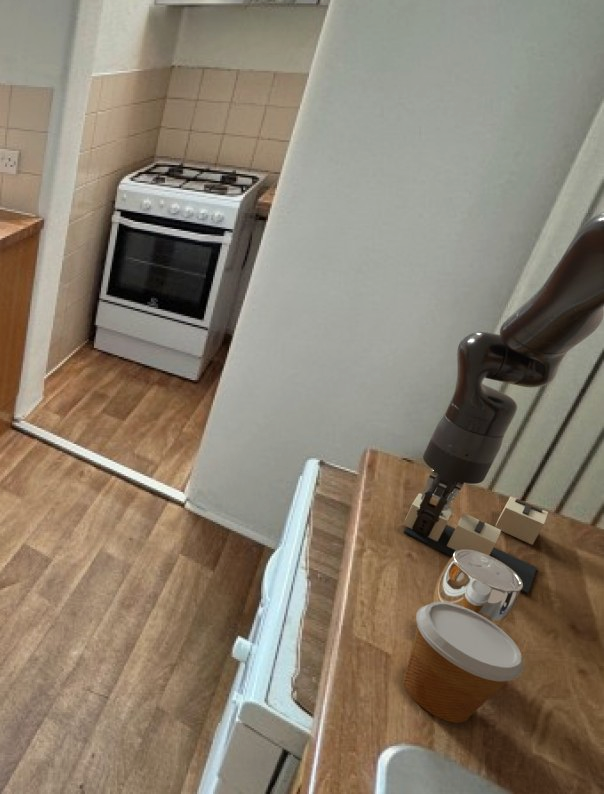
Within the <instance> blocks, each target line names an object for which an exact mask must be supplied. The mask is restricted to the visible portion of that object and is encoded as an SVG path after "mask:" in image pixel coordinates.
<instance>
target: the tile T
mask: <svg viewBox="0 0 604 794" xmlns="http://www.w3.org/2000/svg"><path fill="white" fill-rule="evenodd" d="M548 514H549V512H548V511H546V510H544V509H542V508H540V507H537V506H535V505H532V504H530V503H528V502H525V501H523V500H521V499H519V498H516V497H513V496H510V497H509V498H508V500H507V501H506V504H505V506H504V508H503V510H502V511H501V513H500V515H499V517H498V519H497V521H496V524H495V526H494V527H496V528H498V529H500V530H501V532H503V533H505V534H507V535H510V536H511V537H514V538H515V539H516V538H517V539H518V540H520V541H523V542H525V543H527V544H529V545H532V546H533V545H534V544H535V541H536V540H537V538H538V536H539V535H540V533H541V531H542V529H543V527H544V526H545V523H546V521H547V518H548Z"/></svg>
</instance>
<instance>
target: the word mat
mask: <svg viewBox="0 0 604 794" xmlns="http://www.w3.org/2000/svg"><path fill="white" fill-rule="evenodd" d="M454 530H455V527H452V526H451V525H448V524H447V525H446V527H445V529H444V530H443V532H442V534H441V536H440V538H439V540H438V541H435V540H433V539H431V538H429V537H426V536H423V535H421V534H419V533H417V532H415V531H414V530H413V529H411V528H409V527H407V526H405V528H404V530H403V534H406V535H408V536H409V537H411V538H414V539H415V540H417V541H419V542H421V543H423V544H425V545H426V546H429V547H431V548H433V549H435V550H437V551H439V552H441V553H443V554H445V555H447V556H448V557H450V558H451V557H452V556H453V554H454V552H455V551H456V550H454V549H452V548H450V547H448V546H447V544H448V542H449V540H450V538H451V536H452V534H453V532H454ZM489 556H491V557H493V558H495V559H497V560H498V561H500V562H502V563H503V564H505V565H506V566H508V567H509V568H510V569H512V570H513V571H514V572H515V573H516V574H517V575H518V576H519V577H520V579H521V581H522V583H523V587H522V589H521V591H520V593H523V594H525V595H529V593H530V590H531V587H532V584H533V581H534V578H535V575H536V572H537V570H538V568H537V566H535V565H532V564H530V563H529V562H526V561H524V560H522V559H519V558H517V557H515V556H513V555H511V554H509V553H507V552H505V551H503V550H502V549H501V550H500V549H499V548H496V547H494V548H493V550H492V552H491V553H490V555H489Z"/></svg>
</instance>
